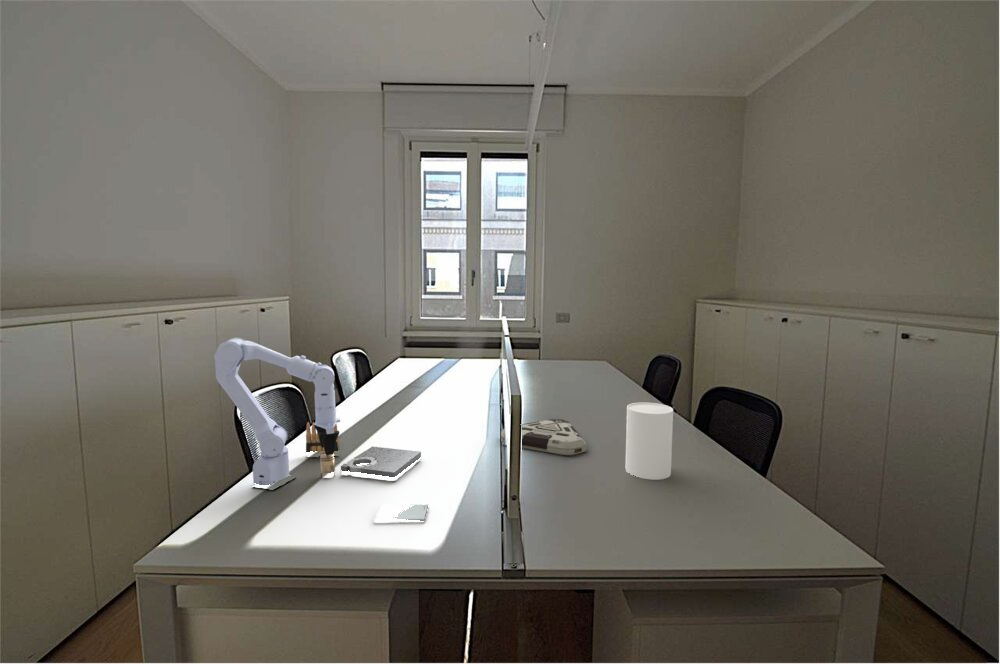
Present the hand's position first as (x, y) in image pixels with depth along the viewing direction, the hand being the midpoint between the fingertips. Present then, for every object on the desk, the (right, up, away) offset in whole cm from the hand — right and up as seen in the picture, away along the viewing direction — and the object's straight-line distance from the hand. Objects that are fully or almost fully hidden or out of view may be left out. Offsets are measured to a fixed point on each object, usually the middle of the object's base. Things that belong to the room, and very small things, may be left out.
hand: (327, 450), depth 146 cm
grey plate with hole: (+15, -7, +7) cm, 18 cm away
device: (+70, -5, +35) cm, 78 cm away
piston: (0, -8, +1) cm, 8 cm away
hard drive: (+27, -11, -23) cm, 38 cm away
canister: (+98, -8, +5) cm, 98 cm away
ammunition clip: (-8, -6, +18) cm, 20 cm away
